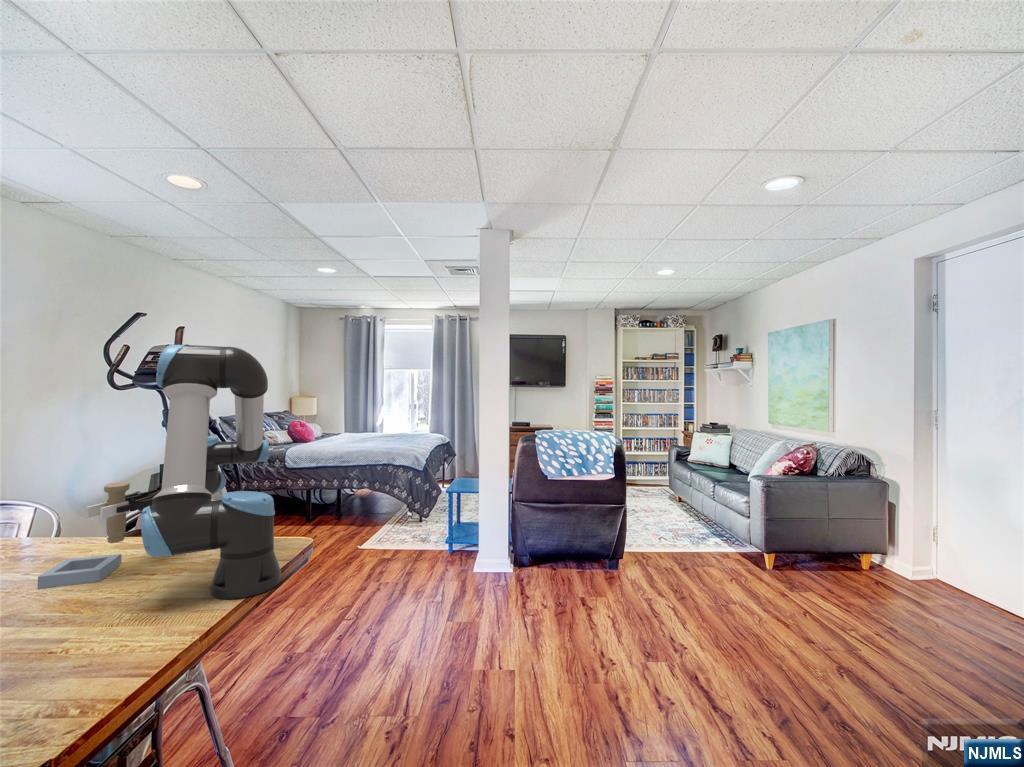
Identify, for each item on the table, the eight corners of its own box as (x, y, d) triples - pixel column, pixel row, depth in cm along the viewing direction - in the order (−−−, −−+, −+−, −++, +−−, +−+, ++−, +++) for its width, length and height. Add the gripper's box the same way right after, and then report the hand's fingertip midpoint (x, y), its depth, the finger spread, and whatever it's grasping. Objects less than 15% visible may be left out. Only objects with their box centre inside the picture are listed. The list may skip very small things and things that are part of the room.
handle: (100, 547, 111) (102, 487, 111) (106, 539, 117) (107, 483, 117) (125, 543, 114) (127, 485, 114) (130, 536, 119) (131, 481, 119)
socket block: (99, 581, 113) (99, 569, 113) (37, 589, 108) (37, 576, 108) (121, 564, 124) (121, 553, 124) (66, 570, 120) (66, 559, 120)
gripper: (201, 505, 132) (122, 529, 109) (153, 502, 134) (65, 526, 111) (202, 480, 132) (122, 499, 109) (153, 478, 134) (66, 496, 111)
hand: (94, 513), depth 110 cm, fingers closed on handle, 3 cm apart
